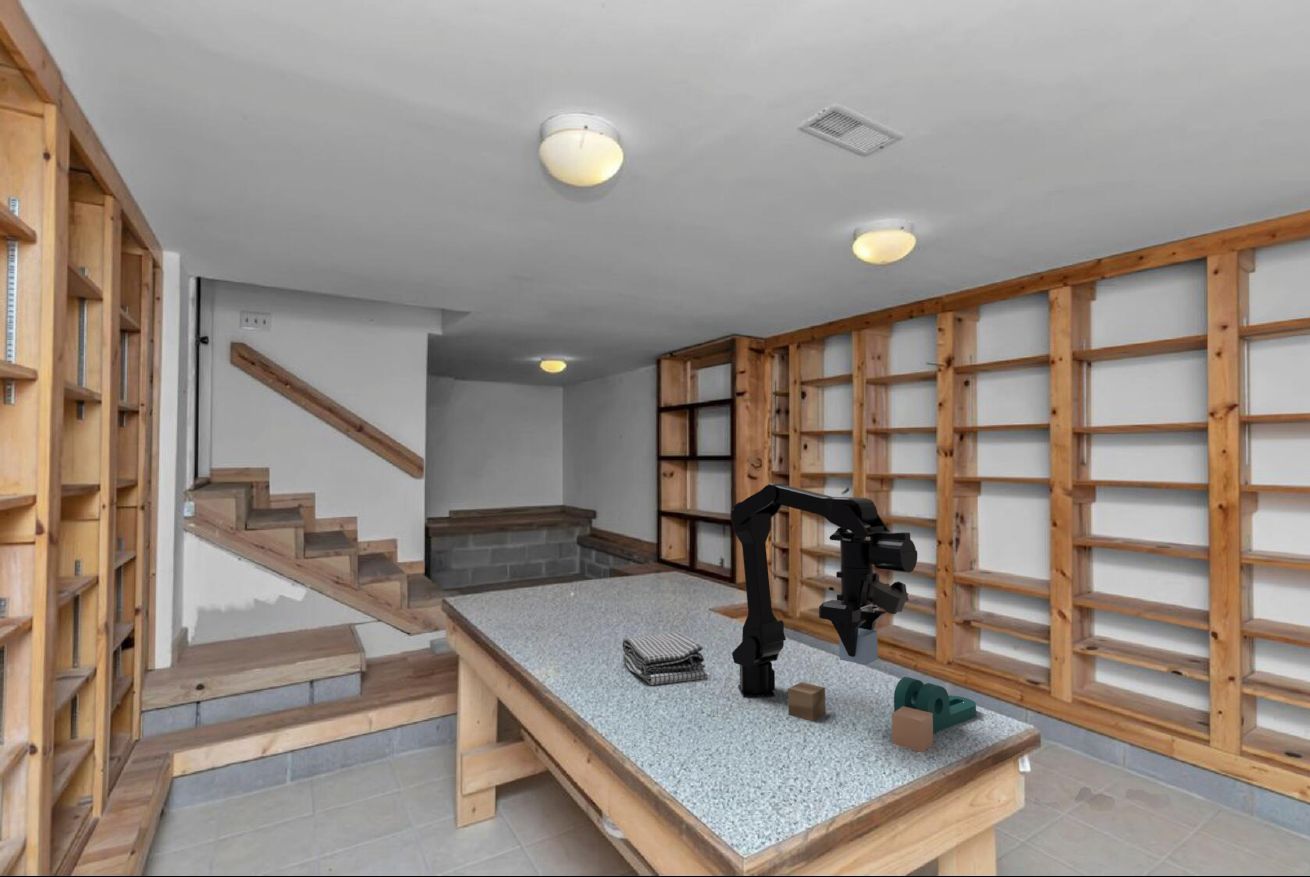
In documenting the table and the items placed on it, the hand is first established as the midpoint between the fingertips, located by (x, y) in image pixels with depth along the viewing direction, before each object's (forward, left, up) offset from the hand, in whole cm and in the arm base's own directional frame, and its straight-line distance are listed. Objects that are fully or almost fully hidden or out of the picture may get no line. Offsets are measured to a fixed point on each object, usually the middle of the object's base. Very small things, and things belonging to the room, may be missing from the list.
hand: (858, 653), depth 116 cm
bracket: (+16, +3, -13) cm, 21 cm away
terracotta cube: (+6, -8, -13) cm, 16 cm away
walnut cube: (-8, +6, -13) cm, 16 cm away
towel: (-33, +35, -13) cm, 50 cm away
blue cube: (0, 0, -1) cm, 1 cm away
